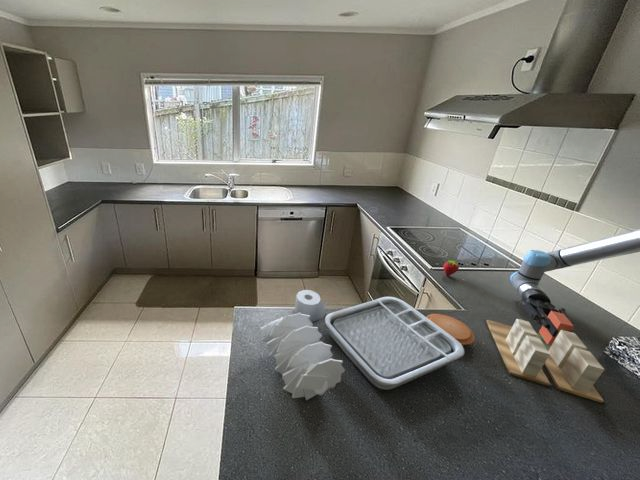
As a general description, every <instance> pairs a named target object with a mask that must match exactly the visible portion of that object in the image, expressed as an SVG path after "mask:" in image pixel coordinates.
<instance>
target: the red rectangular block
mask: <svg viewBox="0 0 640 480" xmlns="http://www.w3.org/2000/svg"><path fill="white" fill-rule="evenodd" d="M547 318H548V319H550V320H551V322H552V323H553V324H554V326H555V327H556V328H557V330H558V333H557V334H556V336H555V337H553V336H552V335H551V334H550V333H549V331H548V330H547V328H545V327H544V326H543V325H541V327H540V329H539V331H538V333H540V334H541V336H542V337H543V339H544V340H545V342H546V343H547V345H549V346H552V344H553V342H554V341H555V339H556V337H557V336H558V334H559V332H560V331H561V330H564V331H568V332H571V331H572V332H573V329H574V328H575V326H574V324H572V323H571V322H570V321H569V320H568V318H567V317H566V316H565V315H564V314H563V313H558V312H554V311H550V313H549V315H548V316H546V319H547Z"/></svg>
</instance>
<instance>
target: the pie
mask: <svg viewBox="0 0 640 480" xmlns="http://www.w3.org/2000/svg"><path fill="white" fill-rule="evenodd" d="M425 317H426V318H428V319H429V320H431V321H432V322H433V323H435V324H436V325H437V326H439V327H440V328H441V329H443V330H444V331H446V332H447V333H448V334H450V335H451V336H452V337H453V338H455V339H456V340H457V341H458V342H459V343H461V345H462V346H463V347H464V346H468V345H472V343H474V341H475V338H476V337H475V333H474V332H473V330H472V329H471V328H470V327H469V326H468V325H466V324H465V323H464V322H463V321H461V320H458V319H457V318H455V317H452V316H450V315H447V314H442V313H441V314H440V313H431V314H428V315H427V316H425Z"/></svg>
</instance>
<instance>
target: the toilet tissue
mask: <svg viewBox="0 0 640 480" xmlns="http://www.w3.org/2000/svg"><path fill="white" fill-rule="evenodd" d="M321 300H322V298H321V297H320V294H319V293H317V292H316V291H314V290H310V289H303V290H299V291H298V292H297V293H296V295H295V304H294V306H295V307H294V313H293V314H296V313H299V312H300V313H301V314H305V315H310V317H309V320H310V321H311V322H312V323H313V322H316V321H319V320H322V319H323V318H324V317H326V300H322V301H321Z"/></svg>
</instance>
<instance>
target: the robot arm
mask: <svg viewBox="0 0 640 480" xmlns="http://www.w3.org/2000/svg"><path fill="white" fill-rule="evenodd" d="M636 253H640V228H638V229H633V230H630V231H625V232H621V233H618V234H614V235H610V236H607V237H603V238H599V239H595V240H591V241H587V242H583V243H580V244H576V245H571V246H568V247H564V248H561V249H557V250H553V251H548V252H545V251H542V250H538V249H530V250H528V251H527V252H526V254H525V255H524V257H523V260H522V262H521V264H520V267H519V269H518V271H517V270H516V271H515V272H513V273H511V275H510V276H509V280H510V283H511V285H512V286H513V288H514V289H515V290H516V292H517V293H518V294H519V296H520V298H521V299H520V301H519V306H521V307H522V308H523V309H524V311H525V312H526V313H527V315H528V316H529V317H530V318H531V320H532V321H538V322H537V324H538V325H540V326H542V325H543V326H544V327H545V328H547V330H548V331H549V333H550V334H551V335H552V336H553V337H555V336H556V334H557V333H558V330H557V328H556V327H555V326H554V324H553V323H552V322H551V320H550V319H548V318H547V317H548V315H549V313H550V311H554V312H558V313H563V314H564V315H565V316H566V317H567V318H568V320H569V321H570V322H571V323H572V324H573V325H574V324H575V323H574V322H573V320H572V319H571V318H570V317H569V314H568V313H567V312H566V309H565V308H563V307H561V308H557V307H556V306H555V305H554V304H552V302H551V299H550V297H549V296H548V295H547V294H546V292H545V291H544V290H543V288H542V287H541V286H540V285H539V283H540V281H541V280H542V278H543V276H544V274H545V273H547V272H551V271H554V270H555V271H556V270H560V269H564V268H570V267H574V266H578V265H583V264H588V263H592V262H597V261H603V260H608V259H612V258H617V257H622V256H627V255H632V254H636ZM546 318H547V319H546ZM571 332H572V333H574V332H573V330H572V331H571Z"/></svg>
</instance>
